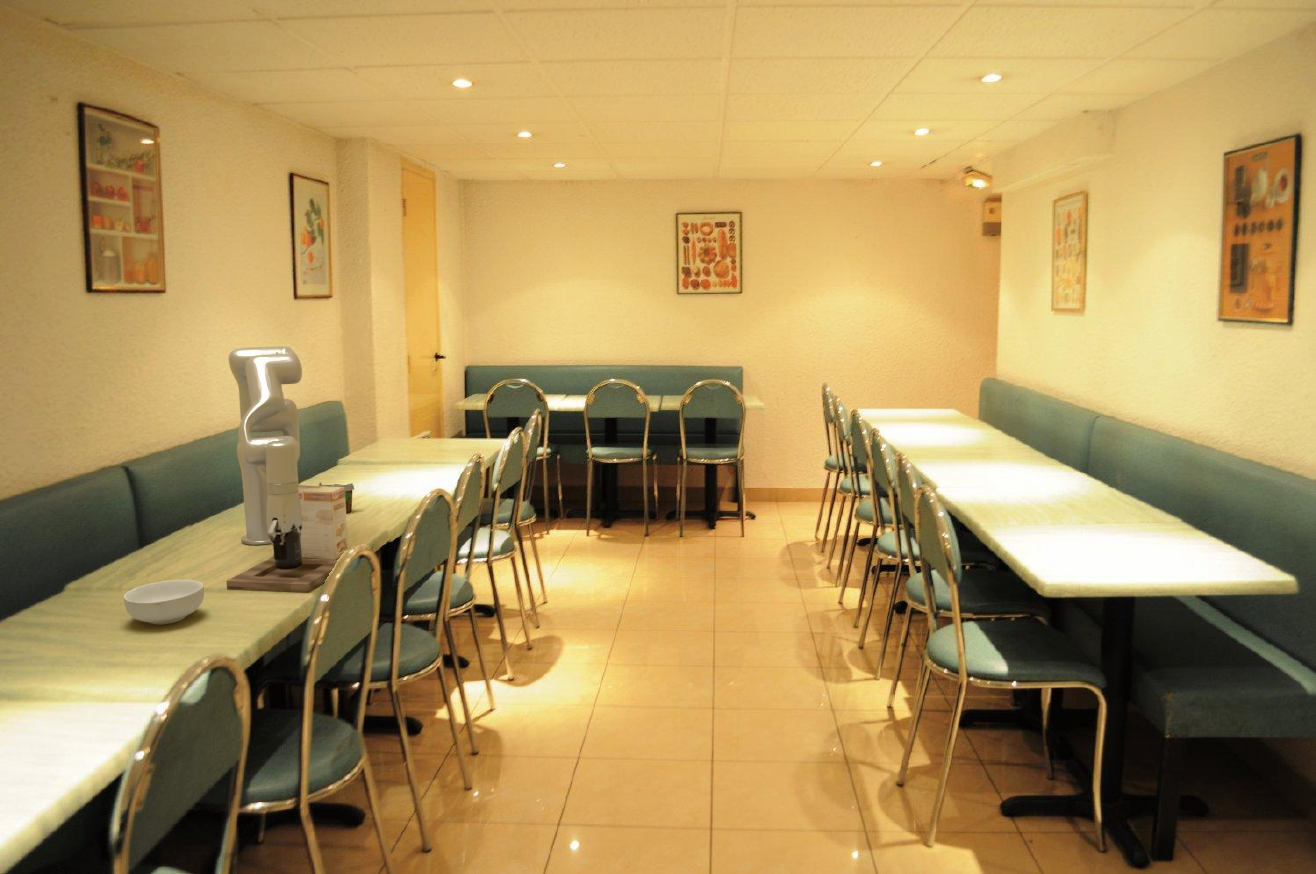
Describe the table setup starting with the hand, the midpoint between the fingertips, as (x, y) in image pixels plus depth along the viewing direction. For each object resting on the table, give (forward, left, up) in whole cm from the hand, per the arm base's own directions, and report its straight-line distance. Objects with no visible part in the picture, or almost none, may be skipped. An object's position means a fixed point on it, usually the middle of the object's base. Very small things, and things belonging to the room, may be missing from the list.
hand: (287, 554), depth 269 cm
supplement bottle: (0, 0, -3) cm, 3 cm away
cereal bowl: (+34, -12, -7) cm, 37 cm away
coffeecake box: (-22, -3, -7) cm, 23 cm away
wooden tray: (0, 0, -6) cm, 6 cm away
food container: (-71, -23, -7) cm, 75 cm away
